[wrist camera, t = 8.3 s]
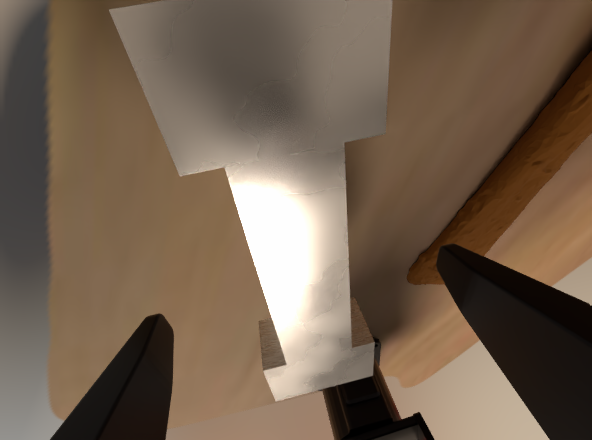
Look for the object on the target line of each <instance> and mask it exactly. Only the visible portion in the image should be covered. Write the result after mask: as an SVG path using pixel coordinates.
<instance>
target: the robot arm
mask: <svg viewBox="0 0 592 440" xmlns="http://www.w3.org/2000/svg"><path fill="white" fill-rule="evenodd" d="M436 267H437V270H438V272H439V274H440V276H441V278H442V279H443V281H444V283H445V285H446V287H447V288H448V290H449V292H450V294H451V296H452V297H453V299H454V301H455V303H456V305H457V306H458V308H459V310H460V311H461V313H462V314H463V316H464V317H465V319H466V320H467V322H468V323H469V325H470V326H471V327H472V329H473V330H474V332H475V333H476V335H477V336H478V337H479V339H480V340H481V342H482V343H483V345H484V346H485V348H486V349H487V350H488V352H489V353H490V355H491V356H492V357H493V359H494V360H495V362H496V363H497V365H498V366H499V368H500V369H501V370H502V372H503V373H504V375H505V376H506V378H507V379H508V380H509V382H510V383H511V385H512V386H513V388H514V389H515V391H516V392H517V393H518V395H519V396H520V398H521V399H522V401H523V402H524V403H525V405H526V406H527V408H528V409H529V411H530V412H531V413H532V415H533V416H534V418H535V419H536V420H537V422H538V423H539V425H540V426H541V428H542V429H543V431H544V432H545V433H546V435H547V436H548V438H549V439H550V440H592V306H590V304H588V303H586V302H584V301H582V300H580V299H577V298H575V297H573V296H570V295H568V294H566V293H564V292H562V291H560V290H557V289H555V288H553V287H551V286H548V285H546V284H544V283H542V282H539V281H537V280H535V279H533V278H531V277H528V276H526V275H524V274H522V273H519V272H517V271H515V270H513V269H510V268H508V267H506V266H504V265H502V264H499V263H497V262H495V261H493V260H490V259H488V258H486V257H484V256H481V255H479V254H477V253H475V252H473V251H470V250H468V249H466V248H464V247H461V246H459V245H457V244H454V243H450V244H446V245H442V246H441V247H440V248H439V252H438V256H437V261H436ZM374 342H375V346H374V365H373V376H370V377H366V378H362V379H358V380H355V381H351V382H347V383H343V384H340V385H336V386H332V387H328V388H325V389H321V390H318V391H323V395H324V399H325V403H326V407H327V411H328V416H329V420H330V424H331V428H332V432H333V436H334V440H434V438H433V436H432V434H431V432H430V430H429V429H428V427H427V425H426V423H425V421H424V419H423V417H422V416H421V414H420V412H418V413H415V414H413V416H411V417H408V418H405V419H401V417H400V415H399V412H398V410H397V408H396V405H395V403H394V401H393V398H392V396H391V394H390V391H389V389H388V386H387V384H386V382H385V379H384V377H383V375H382V372H381V370H380V368H379V363H380V348H381V344H380V342H379V339H374ZM173 348H174V333H173V329H172V327H171V326H170V324H169V323H168V321H167V320H166V319H165V317H164V316H163V315H162V314H155V315H151V316H148V317H146V318H145V319H144V320H143V322H142V323H141V324H140V325H139V327H138V328H137V329H136V331H135V332H134V333H133V334H132V336H131V337H130V338H129V340H128V341H127V342H126V343H125V345H124V346H123V347H122V348H121V350H120V351H119V352H118V354H117V355H116V356H115V357H114V359H113V360H112V361H111V362H110V364H109V365H108V366H107V368H106V369H105V370H104V371H103V373H102V374H101V375H100V376H99V378H98V379H97V380H96V382H95V383H94V384H93V385H92V387H91V388H90V389H89V390H88V392H87V393H86V394H85V396H84V397H83V398H82V399H81V401H80V402H79V403H78V405H77V406H76V407H75V408H74V410H73V411H72V412H71V413H70V415H69V416H68V417H67V419H66V420H65V421H64V423H63V424H62V425H61V426H60V428H59V429H58V430H57V431H56V433H55V434H54V435H53V436H52V438H51V439H50V440H165V439H166V432H167V424H168V417H169V409H170V401H171V394H172V384H173Z"/></svg>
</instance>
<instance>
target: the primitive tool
mask: <svg viewBox="0 0 592 440" xmlns="http://www.w3.org/2000/svg"><path fill="white" fill-rule="evenodd" d="M591 133H592V50H591V52H590V53H589V54H588V56H587V57H586V58H585V59H584V60H583V61H582V62H581V64H580V65H579V66H578V67H577V69H576V70H575V71H574V72H573V73H572V75H571V76H570V78H569V79H568V81H567V82H566V83H565V84H564V86H563V87H562V88H561V89H560V90H559V91H558V92H557V94H556V96H555V97H554V98H553V99H552V100H551V102H550V103H549V104H548V105H547V106H546V107H545V108H544V109H543V110H542V111H541V112H540V114H539V116H538V117H537V119H536V121H535V122H534V123H533V125H532V126H531V127H530V128H529V129H528V130H527V132H526V133H525V134H524V135H523V136H522V137H521V138H520V139H519V140H518V142H517V143H516V144H515V145H514V147H513V148H512V149H511V151H510V152H509V153H508V154H507V156H506V157H505V158H504V159H503V160H502V162H501V163H500V164H499V165H498V166H497V168H496V169H495V170H494V171H493V173H492V174H491V175H490V176H489V178H488V179H487V180H486V182H485V183H484V184H483V185H482V186H481V188H480V189H479V190H478V191H477V192H476V193H475V195H474V196H473V197H472V198H471V199H470V200H468V202H467V203H466V205H465V206H464V207H463V208H462V209H461V210H459V212H458V214H457V216H456V217H455V218H454V219H453V220H452V222H451V224H450V225H449V226H448V227H447V228H446V229H445V230H444V231H443V232H442V233H441V234H440V236H439V237H438V238H437V240H436V241H435V242H434V243H433V244H432V245H431V246H430V248H429V249H428V250H427V251H426V252H424V253H422V254H421V255H419V259H418V261H417V262H416V263H414V264H413V265H412V267H411V268H410V269H409V274H408V275H407V280H408V282H409V283H412V284H414V285H421V284H425V285H426V284H445V283H444V281H443V279H442V278H441V276H440V274H439V272H438V270H437V267H436V261H437V256H438V252H439V248H440V247H441V246H442V245H446V244H450V243H454V244H457V245H459V246H461V247H464V248H466V249H468V250H470V251H473V252H475V253H477V254H479V255H481V256H484V255H485V254H486V253H487V252H488V251H489V249H490V248H491V247H492V246H493V244H494V243H495V242H496V241H497V240H498V238H499V237H500V236H501V235H502V234H503V233H504V232H505V231H506V229H507V228H508V227H509V226H510V225H511V224H512V222H513V221H514V220H515V219H516V218H517V217H518V215H519V214H520V213H521V212H522V211H523V210H524V209H525V207H526V206H527V204H528V203H529V202H530V201H531V199H532V198H533V197H534V196H535V195H536V194H537V193H538V191H539V190H540V189H541V188H542V187H543V186H544V185H545V184H546V183H547V182H548V181H549V180H550V179H551V178H552V177H553V176H554V174H555V173H556V172H557V171H558V170H559V169H560V167H561V166H562V164H563V163H564V162H565V161H566V160H567V159H568V157H569V156H570V154H571V153H572V152H574V151H575V150H576V149H577V147H578V146H579V145H580V144H581V143H582V142H583V141H584V140H585V139H586V138H587V137H588V136H589V135H590V134H591Z"/></svg>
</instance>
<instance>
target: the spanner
mask: <svg viewBox="0 0 592 440" xmlns="http://www.w3.org/2000/svg"><path fill="white" fill-rule="evenodd" d="M109 12H110V14H111V16H112V19H113V21H114V23H115V26H116V28H117V30H118V33H119V35H120V37H121V40H122V42H123V44H124V47H125V49H126V51H127V54H128V56H129V58H130V61H131V63H132V65H133V68H134V70H135V72H136V75H137V77H138V79H139V82H140V84H141V87H142V89H143V91H144V94H145V96H146V98H147V101H148V103H149V105H150V108H151V110H152V112H153V115H154V117H155V119H156V122H157V124H158V126H159V129H160V131H161V133H162V136H163V138H164V140H165V143H166V145H167V147H168V150H169V152H170V154H171V157H172V159H173V161H174V164H175V166H176V168H177V171H178V173H179V175H180V176H184V175H189V174H194V173H199V172H204V171H208V170H213V169H218V168H223V167H225V170H226V174H227V177H228V180H229V183H230V186H231V189H232V193H233V196H234V199H235V202H236V205H237V208H238V212H239V215H240V218H241V221H242V224H243V227H244V231H245V234H246V237H247V240H248V243H249V247H250V250H251V253H252V256H253V259H254V262H255V266H256V269H257V272H258V275H259V278H260V281H261V285H262V288H263V291H264V294H265V297H266V300H267V304H268V307H269V310H270V313H271V316H272V318H269V319H265V320H261V321H259V331H260V342H261V353H262V365H263V372H264V374H265V377H266V379H267V381H268V384H269V386H270V388H271V391H272V393H273V395H274V398H275V400H276V401H280V400H283V399H287V398H291V397H295V396H298V395H302V394H306V393H310V392H313V391H317V390H321V389H325V388H328V387H332V386H336V385H340V384H343V383H347V382H351V381H355V380H358V379H362V378H366V377H370V376H373V365H374V346H375V342H374V339H373V337H372V335H371V333H370V330H369V328H368V326H367V324H366V322H365V319H364V317H363V315H362V313H361V310H360V308H359V306H358V304H357V301H356V299H355V298H351V299H350V282H349V255H348V228H347V201H346V174H345V147H344V142H349V141H354V140H359V139H364V138H368V137H373V136H378V135H383V134H385V133H386V114H387V95H388V75H389V56H390V37H391V17H392V0H164V1H158V2H152V3H146V4H140V5H134V6H128V7H121V8H115V9H109Z"/></svg>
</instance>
